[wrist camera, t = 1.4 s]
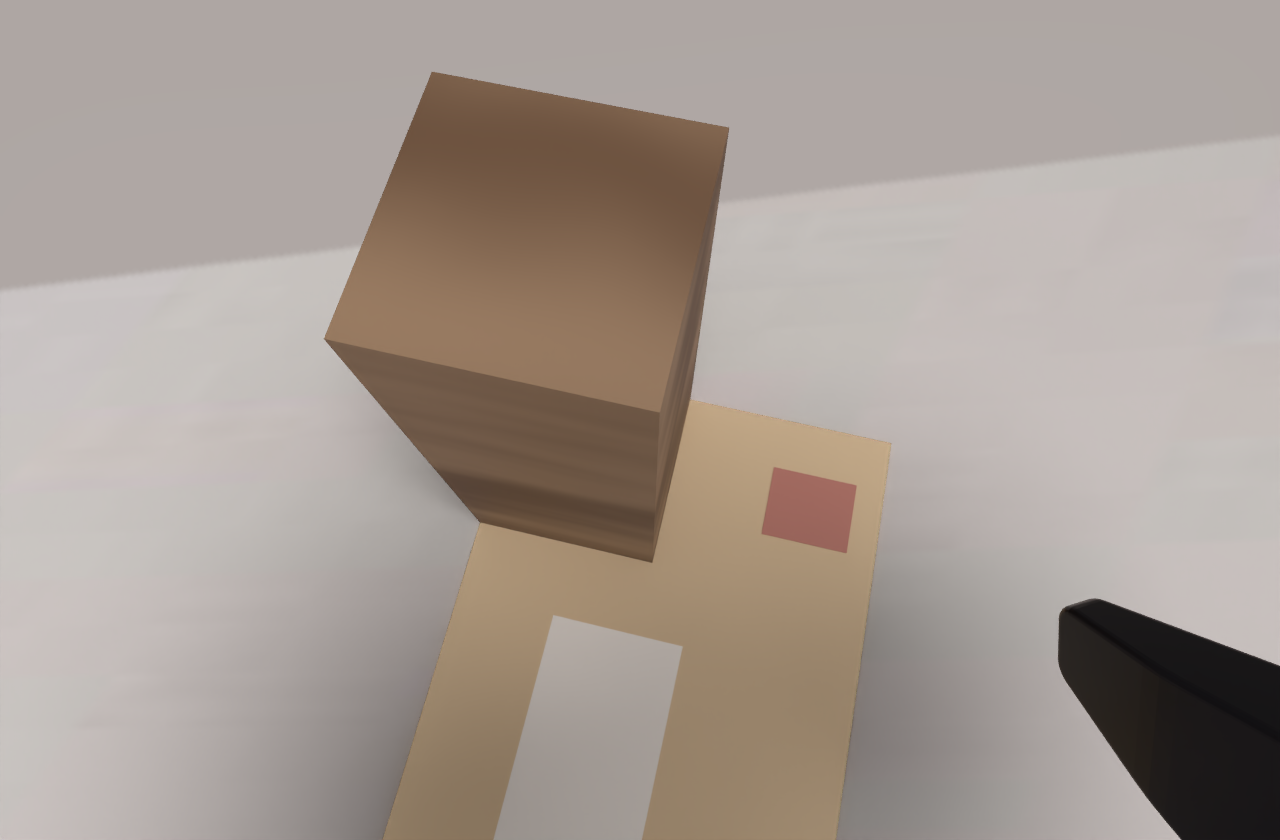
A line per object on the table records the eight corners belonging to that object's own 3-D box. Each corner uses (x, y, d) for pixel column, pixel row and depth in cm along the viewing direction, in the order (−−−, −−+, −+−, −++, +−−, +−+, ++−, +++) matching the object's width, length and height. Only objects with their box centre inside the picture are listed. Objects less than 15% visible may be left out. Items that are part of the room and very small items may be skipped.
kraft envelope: (798, 1090, 19) (800, 1094, 19) (347, 960, 20) (343, 963, 20) (889, 445, 24) (891, 443, 24) (529, 367, 25) (528, 364, 25)
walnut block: (652, 562, 23) (659, 412, 11) (479, 522, 23) (324, 338, 12) (690, 399, 24) (728, 128, 13) (528, 364, 25) (431, 71, 14)
